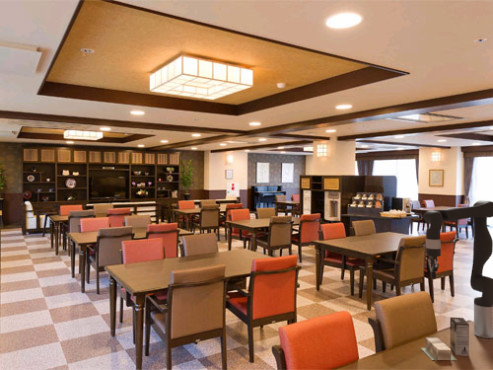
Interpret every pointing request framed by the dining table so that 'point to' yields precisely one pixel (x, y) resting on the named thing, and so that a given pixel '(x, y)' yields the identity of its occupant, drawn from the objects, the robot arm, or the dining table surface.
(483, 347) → the dining table surface
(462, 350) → the coffee box
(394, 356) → the dining table surface
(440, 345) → the maple block
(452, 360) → the mat
